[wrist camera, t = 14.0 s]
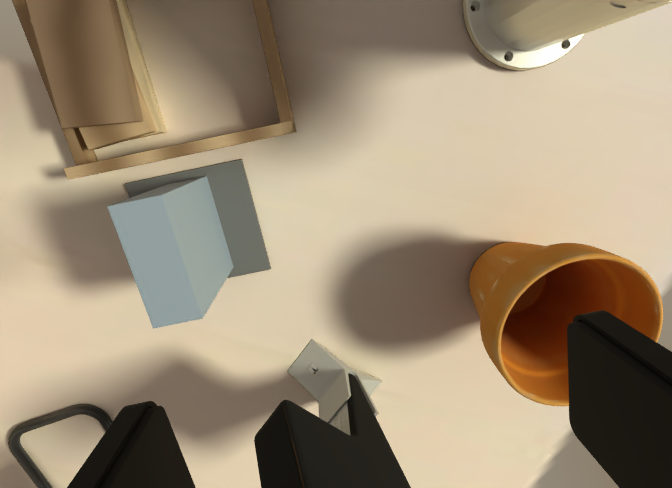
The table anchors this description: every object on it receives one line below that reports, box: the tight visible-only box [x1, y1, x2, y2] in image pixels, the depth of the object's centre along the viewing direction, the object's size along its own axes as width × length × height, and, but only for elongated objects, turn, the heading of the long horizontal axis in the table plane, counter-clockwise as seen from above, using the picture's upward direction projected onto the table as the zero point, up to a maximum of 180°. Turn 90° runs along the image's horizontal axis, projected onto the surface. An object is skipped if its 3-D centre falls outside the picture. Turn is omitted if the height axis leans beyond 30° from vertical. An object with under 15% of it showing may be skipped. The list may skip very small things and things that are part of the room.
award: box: [254, 339, 411, 488], centre depth 33 cm, size 15×5×30 cm, turn 55°
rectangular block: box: [107, 176, 233, 328], centre depth 35 cm, size 4×10×12 cm, turn 11°
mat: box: [125, 159, 271, 278], centre depth 41 cm, size 12×12×1 cm
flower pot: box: [469, 242, 663, 406], centre depth 38 cm, size 14×14×13 cm
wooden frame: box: [12, 0, 296, 179], centre depth 35 cm, size 21×17×4 cm
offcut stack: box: [26, 0, 167, 150], centre depth 34 cm, size 8×12×4 cm, turn 11°
